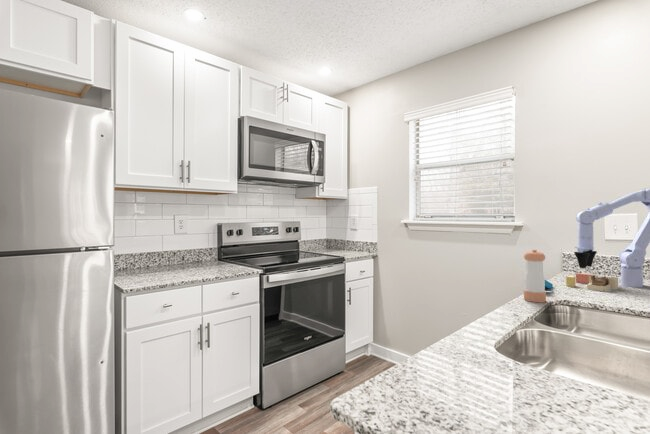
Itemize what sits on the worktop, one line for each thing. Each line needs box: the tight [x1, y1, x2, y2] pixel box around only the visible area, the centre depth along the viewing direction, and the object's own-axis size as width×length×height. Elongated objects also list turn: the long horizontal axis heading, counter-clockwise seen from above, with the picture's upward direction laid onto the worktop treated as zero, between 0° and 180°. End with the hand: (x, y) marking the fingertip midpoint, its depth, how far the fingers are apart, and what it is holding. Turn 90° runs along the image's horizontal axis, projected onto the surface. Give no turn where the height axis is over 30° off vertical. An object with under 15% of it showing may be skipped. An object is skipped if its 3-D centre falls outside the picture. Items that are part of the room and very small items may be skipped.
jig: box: [583, 274, 620, 293], centre depth 152 cm, size 14×9×5 cm, turn 128°
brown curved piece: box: [591, 274, 610, 286], centre depth 152 cm, size 12×4×6 cm, turn 128°
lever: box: [544, 279, 554, 289], centre depth 151 cm, size 7×7×18 cm
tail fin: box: [565, 275, 576, 288], centre depth 157 cm, size 3×2×5 cm
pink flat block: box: [575, 272, 593, 285], centre depth 163 cm, size 2×7×5 cm, turn 38°
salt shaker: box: [523, 249, 547, 303], centre depth 135 cm, size 7×7×19 cm
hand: (585, 267), depth 163 cm, fingers open, 7 cm apart
